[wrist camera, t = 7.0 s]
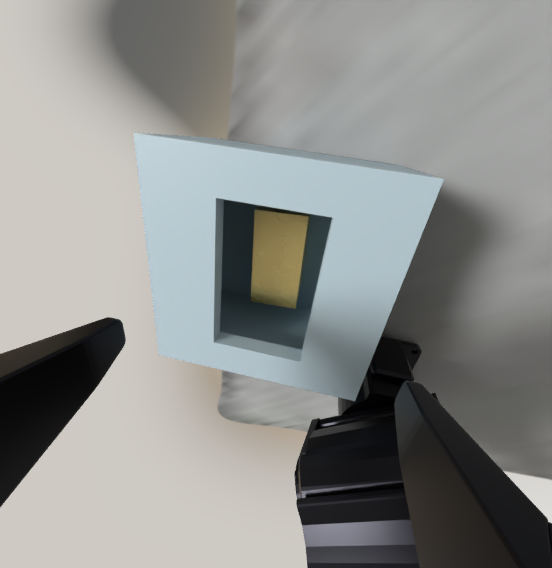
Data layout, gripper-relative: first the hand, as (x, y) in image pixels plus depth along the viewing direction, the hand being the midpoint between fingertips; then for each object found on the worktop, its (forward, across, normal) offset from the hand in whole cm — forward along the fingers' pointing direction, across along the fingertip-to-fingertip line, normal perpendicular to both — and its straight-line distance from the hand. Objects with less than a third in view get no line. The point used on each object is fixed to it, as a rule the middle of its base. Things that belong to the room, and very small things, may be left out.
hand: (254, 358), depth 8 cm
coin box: (+13, +1, 0) cm, 13 cm away
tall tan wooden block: (+12, +1, 0) cm, 13 cm away
